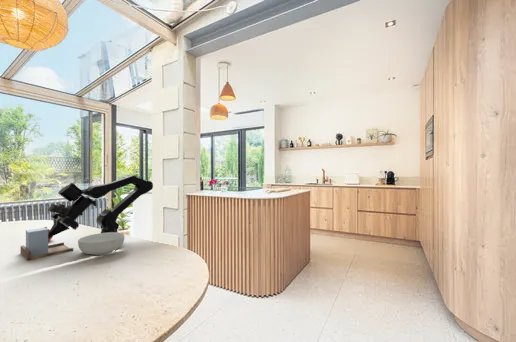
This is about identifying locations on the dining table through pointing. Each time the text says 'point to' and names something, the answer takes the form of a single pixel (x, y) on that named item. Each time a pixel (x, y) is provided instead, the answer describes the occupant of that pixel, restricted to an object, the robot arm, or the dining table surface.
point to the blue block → (37, 241)
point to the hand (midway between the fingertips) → (47, 237)
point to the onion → (50, 237)
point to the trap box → (51, 251)
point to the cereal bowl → (101, 243)
